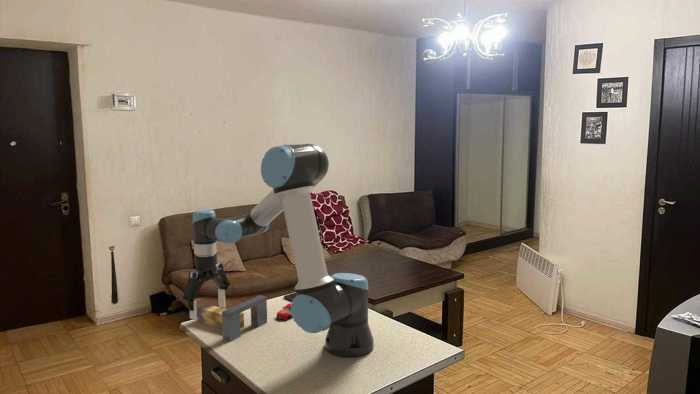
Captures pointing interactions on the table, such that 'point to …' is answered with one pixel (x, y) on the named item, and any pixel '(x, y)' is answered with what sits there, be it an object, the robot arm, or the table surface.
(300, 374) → the table surface
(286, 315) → the race car
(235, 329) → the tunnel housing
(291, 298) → the phone
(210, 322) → the tan long block
